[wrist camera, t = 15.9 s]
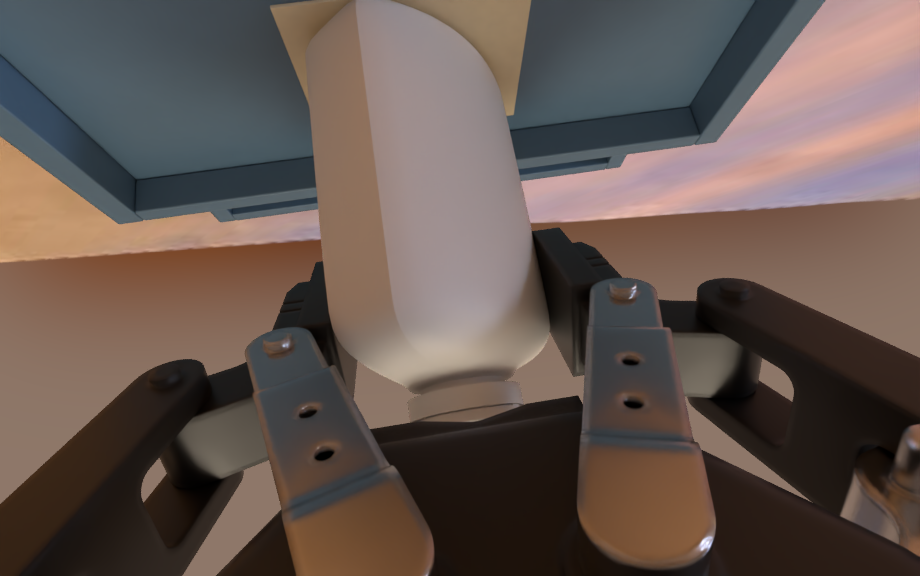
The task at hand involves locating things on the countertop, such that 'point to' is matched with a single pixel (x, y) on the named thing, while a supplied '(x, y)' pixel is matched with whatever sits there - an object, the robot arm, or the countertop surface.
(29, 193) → the countertop surface
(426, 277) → the eye dropper bottle
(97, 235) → the countertop surface
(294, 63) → the shelf
